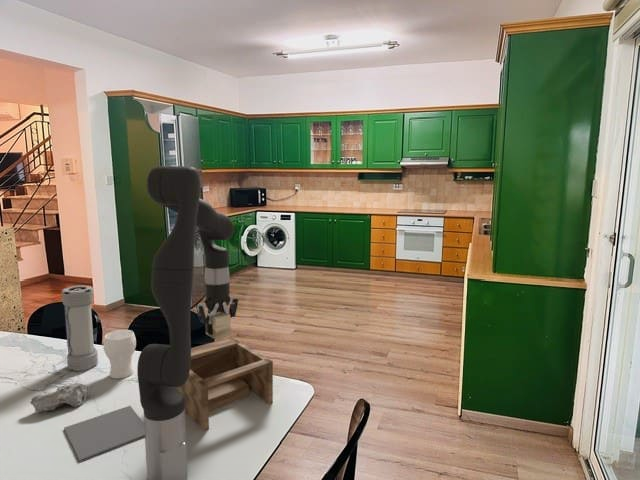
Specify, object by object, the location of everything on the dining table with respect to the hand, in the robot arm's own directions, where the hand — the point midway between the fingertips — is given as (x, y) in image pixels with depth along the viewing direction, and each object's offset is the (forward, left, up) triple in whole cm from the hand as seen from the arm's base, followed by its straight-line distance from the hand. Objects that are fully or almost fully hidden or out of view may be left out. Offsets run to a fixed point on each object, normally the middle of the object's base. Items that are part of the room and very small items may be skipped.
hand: (218, 332), depth 135 cm
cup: (+38, +19, -23) cm, 48 cm away
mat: (+4, +33, -23) cm, 40 cm away
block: (0, 0, -1) cm, 1 cm away
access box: (0, 0, -23) cm, 23 cm away
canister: (+54, +28, -23) cm, 65 cm away
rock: (+27, +39, -23) cm, 53 cm away
